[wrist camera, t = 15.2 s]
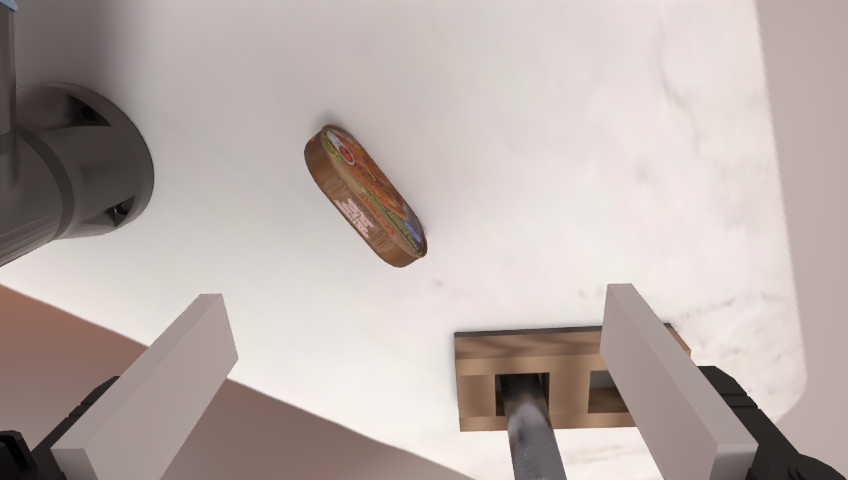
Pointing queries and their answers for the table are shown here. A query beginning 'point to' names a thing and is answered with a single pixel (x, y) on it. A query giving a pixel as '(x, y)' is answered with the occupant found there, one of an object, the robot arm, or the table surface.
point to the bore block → (540, 376)
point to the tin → (365, 196)
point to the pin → (530, 429)
